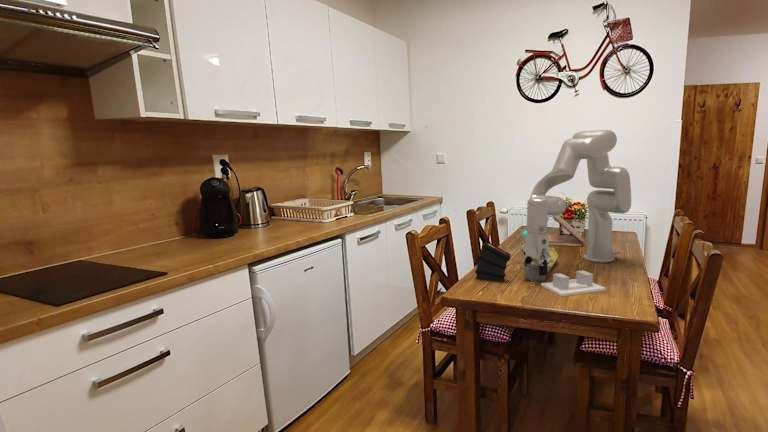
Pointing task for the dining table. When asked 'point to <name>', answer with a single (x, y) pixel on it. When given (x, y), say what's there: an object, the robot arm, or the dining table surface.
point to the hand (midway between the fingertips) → (535, 271)
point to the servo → (534, 271)
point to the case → (565, 240)
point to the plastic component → (552, 260)
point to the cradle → (573, 284)
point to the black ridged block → (492, 263)
